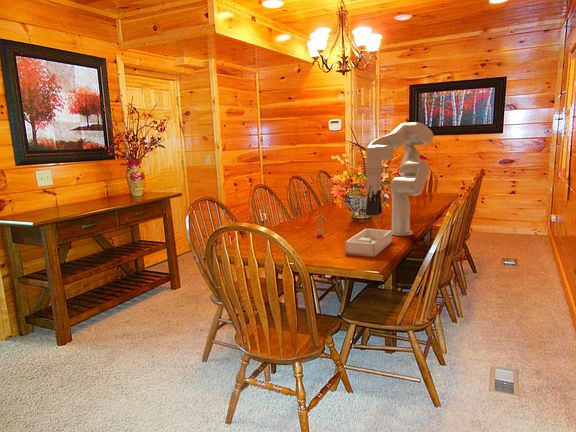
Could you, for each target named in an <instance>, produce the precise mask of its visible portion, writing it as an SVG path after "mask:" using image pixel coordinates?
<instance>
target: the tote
mask: <svg viewBox="0 0 576 432" xmlns="http://www.w3.org/2000/svg"><path fill="white" fill-rule="evenodd" d="M390 230H391V229H389V230H386V229H375V228H364V229H362V230H361V231H359V232H358V233H357V234H355V235H353V236H352V237H351V238H349V239H347V240H345V255H352V256H363V257H370V258H371V257H372V258H375V257H376V256H377V255H378V254H380V253H381V252H382V251H383V250H384V249H386V247H388V246H389V245H390V244H391V243H393V235H392V231H390ZM362 237H363V238H372V243H361V242H359V239H360V238H362Z"/></svg>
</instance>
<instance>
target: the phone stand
mask: <svg viewBox="0 0 576 432" xmlns="http://www.w3.org/2000/svg"><path fill="white" fill-rule="evenodd" d="M369 193H370V192H369ZM381 193H382V190H381V191H380V190H379V191H378V192H377V194H376V199H375V201H370V197H369V194H368V195H367V194H366V195H367V197H366V198H367V199H366V206H365V207H366V208H365V216H375V217H377V216H379V215H382V214H383V205H382V197H381V195H382V194H381ZM373 194H374V193H373Z"/></svg>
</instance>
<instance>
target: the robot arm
mask: <svg viewBox="0 0 576 432" xmlns="http://www.w3.org/2000/svg"><path fill="white" fill-rule="evenodd" d="M433 140H434V133H433V131H432V130H431V129H430V128H429V127H427V126H426V124H424V123H421V122H419V121H418V122H417V121H415V122H403V123H400V124H399V125H398V126H396V127H395V128H394V129H393V130H392V131H391V133H389V134H386V135H385V134H384V135H383V136H381V137H379V138H377V139H374V140H373V141H371V142H370V143H369V144H368V145H367V147H366V148H365V156H366V159H365V160H366V162H365V163H366V168H365V169H366V175H367V176H366V181H365V182H366V185H365V194H366V195H368V194H369V197H370V201H375V199H376V194H377V192H378V191H379V190H380V191H381V192H382V190H381V189H382V182H381V181H382V180H381V177H382V176H381V175H382V174H383V161H389V160H391V159H393V157H394V156H395V149H397V148H400V147H401V146H402V145H403V150H404V154H403V157H402V161H401V163H400V166H399V170H398V174H399V175H400V176H395V177H394V178H393V179H392V180H391V181H390V190H391V202H392V203H391V229H389V230H390V231H392V236H395V237H396V236H398V237H399V236H400V237H406V236H411V235H413V230H410V223H411V222H410V221H411V219H410V218H411V216H410V215H411V201H410V199H409V197H408V196H419V195H421V194H422V193H423V191H424V188H425V185H426V183H427V180H428V177H429V172H430V166H429V164H428V162H427V161H424V160H419V159H420V157H421V155H420V152H419V150H418V148H417V147H416V146H427V145H428V146H429V145H431V144H432V142H433ZM369 192H370V193H369ZM373 193H374V194H373Z"/></svg>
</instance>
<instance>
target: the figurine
mask: <svg viewBox="0 0 576 432" xmlns="http://www.w3.org/2000/svg"><path fill="white" fill-rule="evenodd" d="M316 219H318V221H317V226H318V228H317V230H316V235H317V236H319V237H322V236H323V235H324V233H325V232H324V230H323V222H324V221H323V219H325V221H326V223H327V224H328V222H329V221H328V220H327V217H326V216H324V215H322V214H321V213H319V215H318V216H316V217H315V218H314V219H313V222H312V224H313V223H315V221H316Z"/></svg>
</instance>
